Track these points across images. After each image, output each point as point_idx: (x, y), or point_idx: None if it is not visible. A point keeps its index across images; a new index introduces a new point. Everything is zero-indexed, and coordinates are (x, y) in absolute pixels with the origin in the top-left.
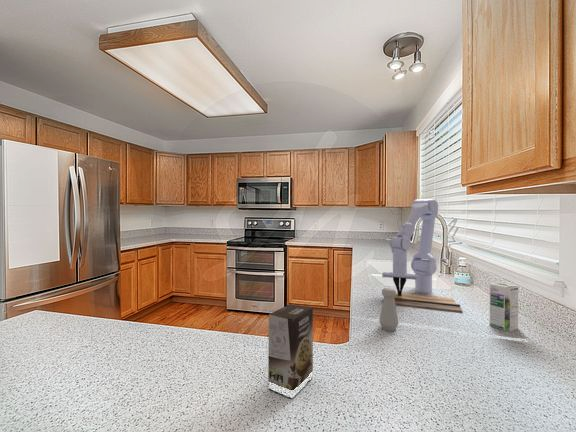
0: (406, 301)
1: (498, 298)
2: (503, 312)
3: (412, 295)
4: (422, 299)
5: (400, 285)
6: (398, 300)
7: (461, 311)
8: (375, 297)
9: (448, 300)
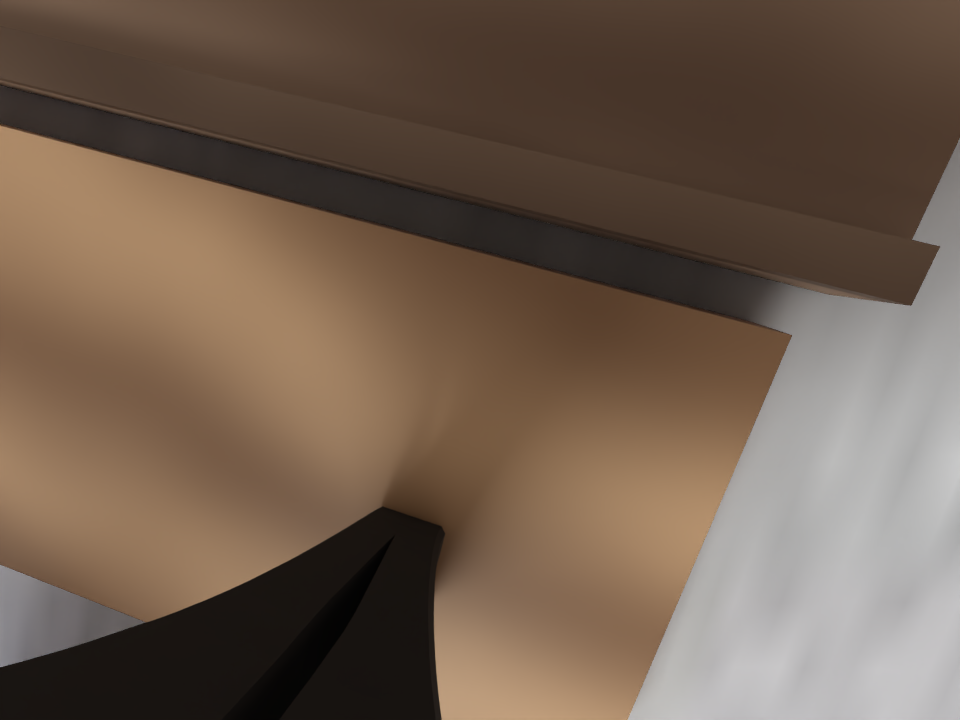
0: (346, 50)
1: None
2: None
3: (167, 542)
4: (21, 277)
5: (234, 678)
6: (526, 106)
7: None
8: (933, 588)
9: None
